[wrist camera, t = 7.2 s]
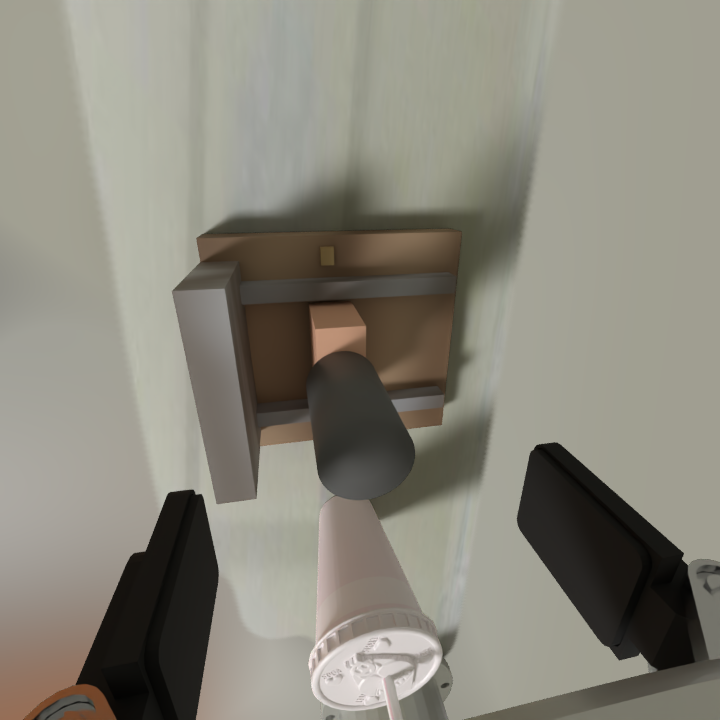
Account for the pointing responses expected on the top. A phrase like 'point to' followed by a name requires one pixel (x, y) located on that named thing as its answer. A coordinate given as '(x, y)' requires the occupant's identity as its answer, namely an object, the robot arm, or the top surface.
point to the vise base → (308, 332)
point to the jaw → (352, 410)
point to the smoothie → (366, 616)
